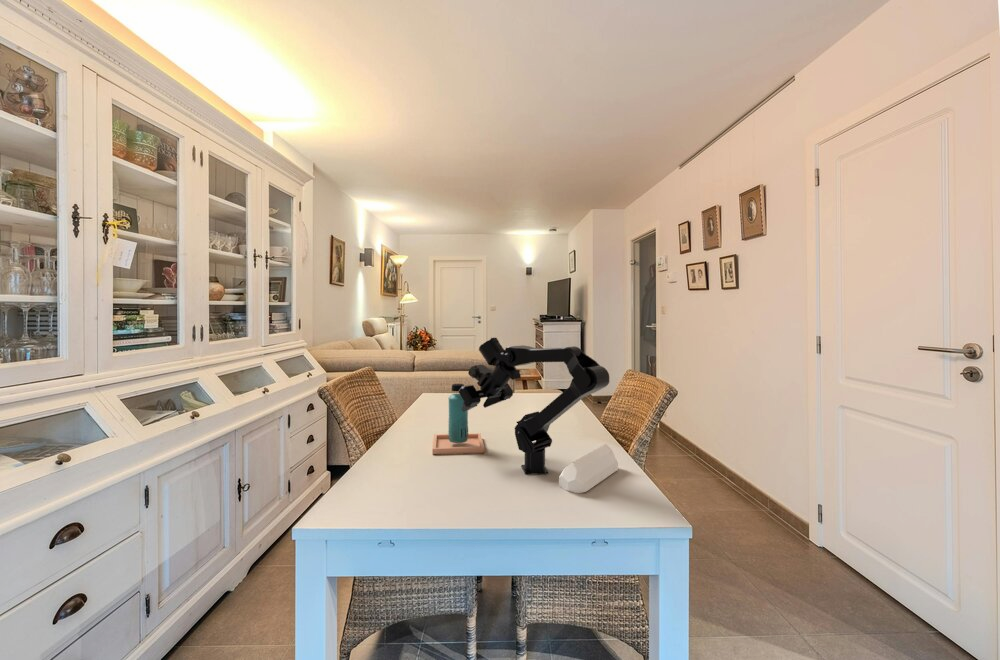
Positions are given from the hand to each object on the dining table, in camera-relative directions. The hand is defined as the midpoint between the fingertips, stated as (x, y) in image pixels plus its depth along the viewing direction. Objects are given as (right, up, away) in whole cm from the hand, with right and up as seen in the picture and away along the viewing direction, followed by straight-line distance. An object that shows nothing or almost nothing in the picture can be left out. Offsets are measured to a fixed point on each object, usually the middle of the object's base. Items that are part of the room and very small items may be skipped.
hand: (473, 408), depth 138 cm
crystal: (+32, -15, -22) cm, 42 cm away
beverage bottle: (-5, -13, +5) cm, 15 cm away
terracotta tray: (-5, -13, +6) cm, 15 cm away
